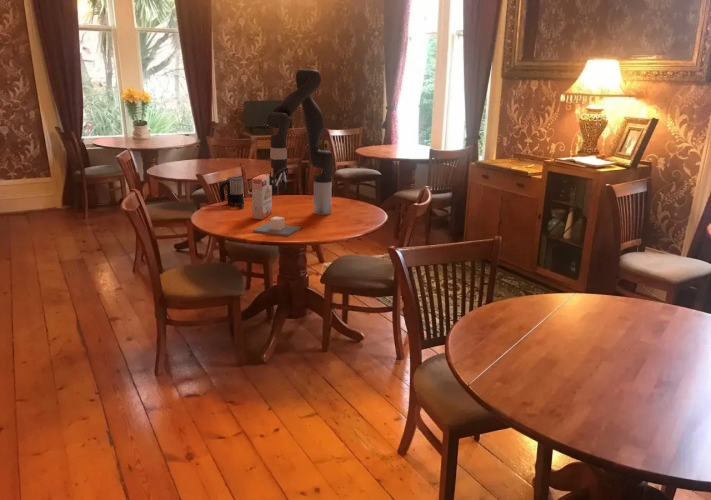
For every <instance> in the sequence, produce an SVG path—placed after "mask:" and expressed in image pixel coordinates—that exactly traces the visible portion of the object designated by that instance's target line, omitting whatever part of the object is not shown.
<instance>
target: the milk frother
mask: <svg viewBox="0 0 711 500" xmlns="http://www.w3.org/2000/svg"><path fill="white" fill-rule="evenodd" d="M226 179H227V180H223V181H221V182H220V184H219V186H218V191H219V199H220V201H221V202H225V200H227V205H228V206H236V207H237V208H239V209H242V208H245V205H244V204H245V201H244V177H242V176H228V177H226ZM225 186H226V190H227V191H226V196H227V199H225V197H226V196H225Z"/></svg>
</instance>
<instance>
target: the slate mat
mask: <svg viewBox="0 0 711 500" xmlns="http://www.w3.org/2000/svg"><path fill="white" fill-rule="evenodd" d="M300 230H302V227H301V226H295V225H287V224H285V228H283V229H281V230H274V229H270V222H266V223H264V224H262V225H261V226H258V227H256V228H254V229H252V231H253V232H252V233H258V232H259V233H258V234H267V235H273V236H274V235H275V236H281V237H287V238H288V237H290V236H291V235H294V234H295V233H297V232H298V231H300Z"/></svg>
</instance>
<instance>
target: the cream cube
mask: <svg viewBox="0 0 711 500" xmlns="http://www.w3.org/2000/svg"><path fill="white" fill-rule="evenodd" d="M285 220H286V219H285V217H282V216H273V217H271V218H269V223H270V229H274V230H281V229H283V228H285V225H286V224H285V223H286V221H285Z"/></svg>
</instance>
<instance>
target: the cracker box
mask: <svg viewBox="0 0 711 500" xmlns="http://www.w3.org/2000/svg"><path fill="white" fill-rule="evenodd" d="M272 195H273V189H272V185H270V184H269V174H264V173H263V174H260V175H258V176H255V177H253V178H251V198H252V200H251V202H252V203H251V204H252V206H251V207H252V208H251V210H252V219H253V220H261V221H262V220H264V219H266V218H267V217H269V216H270V215H272V214H273V212H272V210H273V204H272V203H273V200H272V199H273V198H272V197H273V196H272Z"/></svg>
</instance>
